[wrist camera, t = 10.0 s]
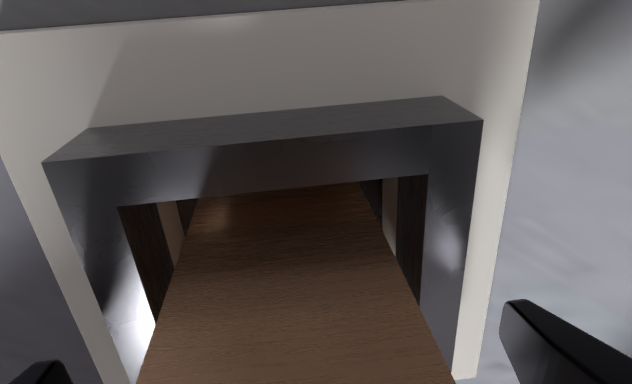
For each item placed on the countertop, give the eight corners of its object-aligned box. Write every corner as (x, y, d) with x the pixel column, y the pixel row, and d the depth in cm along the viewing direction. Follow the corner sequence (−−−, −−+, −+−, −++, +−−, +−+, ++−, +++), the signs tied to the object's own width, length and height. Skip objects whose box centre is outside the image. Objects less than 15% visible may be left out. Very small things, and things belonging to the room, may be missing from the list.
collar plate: (136, 386, 14) (100, 494, 11) (-6, 31, 9) (-151, 50, 6) (457, 343, 15) (506, 433, 12) (504, -7, 10) (614, -8, 7)
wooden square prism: (228, 286, 13) (162, 763, 5) (207, 173, 11) (49, 638, 3) (350, 272, 13) (476, 703, 5) (348, 160, 11) (539, 557, 3)
